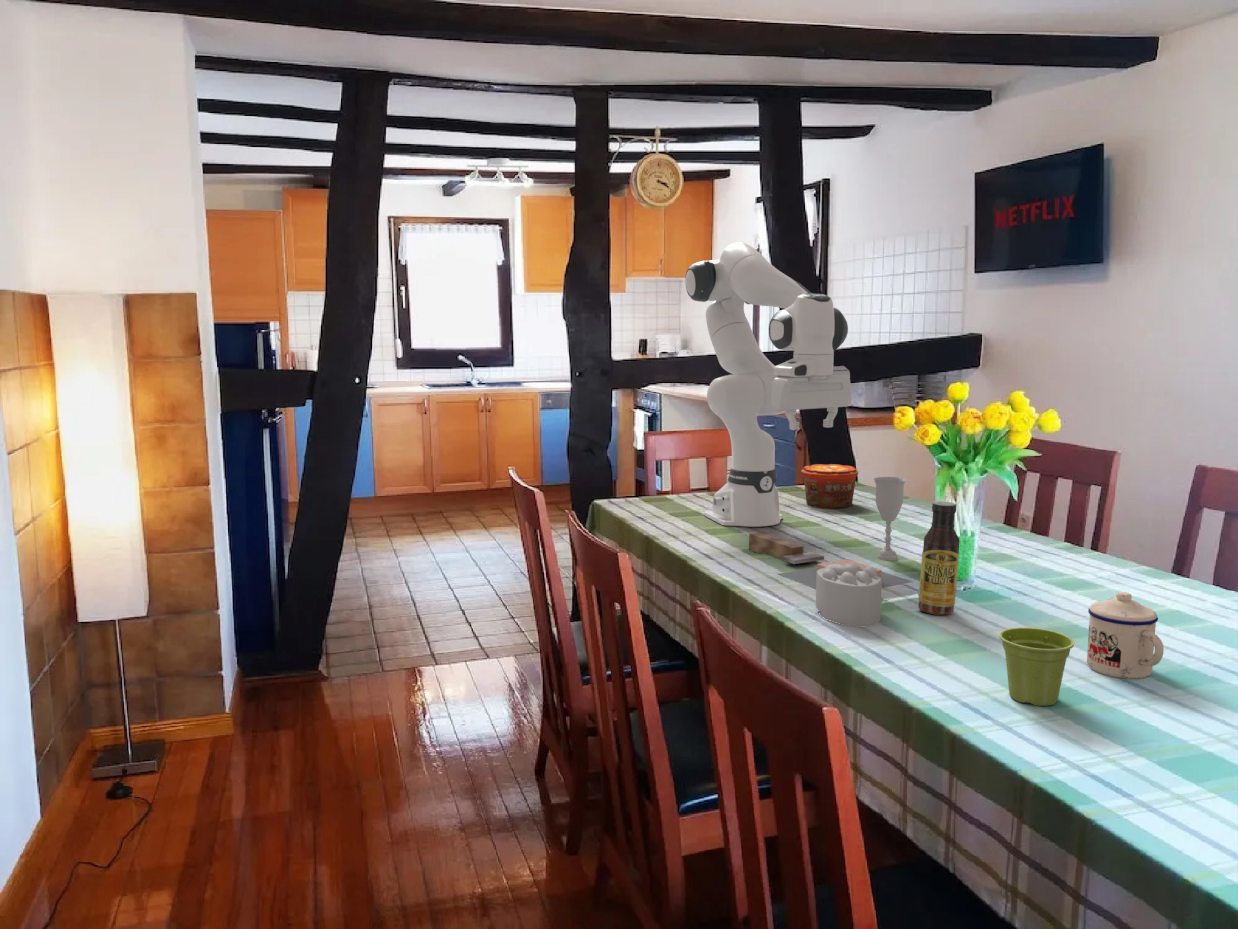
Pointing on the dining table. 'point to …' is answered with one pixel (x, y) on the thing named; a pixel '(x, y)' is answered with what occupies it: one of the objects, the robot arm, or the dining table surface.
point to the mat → (810, 577)
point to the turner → (780, 548)
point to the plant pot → (1035, 663)
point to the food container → (829, 485)
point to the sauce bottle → (939, 562)
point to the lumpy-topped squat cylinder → (849, 594)
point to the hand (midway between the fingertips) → (811, 428)
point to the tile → (824, 565)
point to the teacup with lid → (1123, 638)
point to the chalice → (889, 508)
